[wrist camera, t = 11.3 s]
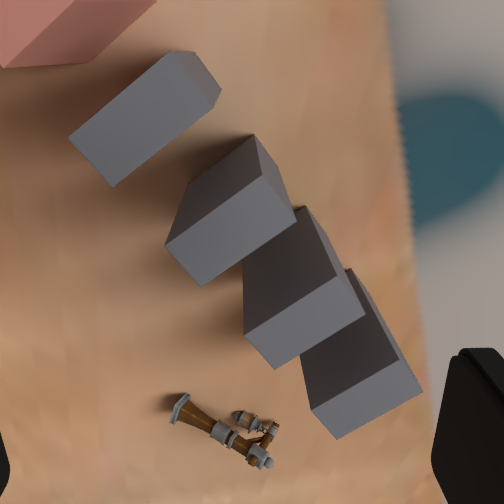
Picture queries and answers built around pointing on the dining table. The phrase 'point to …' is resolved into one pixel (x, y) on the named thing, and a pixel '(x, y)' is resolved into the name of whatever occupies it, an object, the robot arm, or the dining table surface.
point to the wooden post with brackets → (229, 431)
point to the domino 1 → (62, 29)
